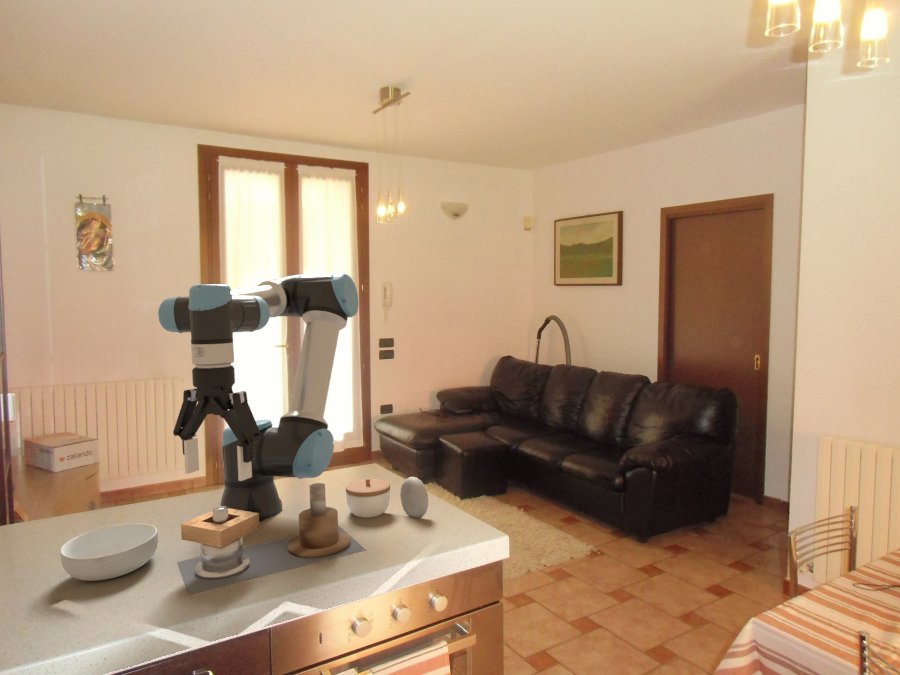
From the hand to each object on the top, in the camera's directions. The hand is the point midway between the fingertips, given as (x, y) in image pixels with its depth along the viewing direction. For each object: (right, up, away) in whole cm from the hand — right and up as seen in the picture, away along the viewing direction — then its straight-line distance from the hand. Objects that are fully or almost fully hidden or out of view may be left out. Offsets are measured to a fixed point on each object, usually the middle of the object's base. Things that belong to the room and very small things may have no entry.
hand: (218, 475), depth 116 cm
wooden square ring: (0, -12, +1) cm, 12 cm away
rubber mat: (+9, -19, +6) cm, 22 cm away
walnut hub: (+17, -17, +11) cm, 27 cm away
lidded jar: (+25, -17, +31) cm, 43 cm away
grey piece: (+36, -17, +29) cm, 49 cm away
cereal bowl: (-22, -20, +3) cm, 30 cm away
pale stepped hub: (0, -18, +1) cm, 18 cm away
